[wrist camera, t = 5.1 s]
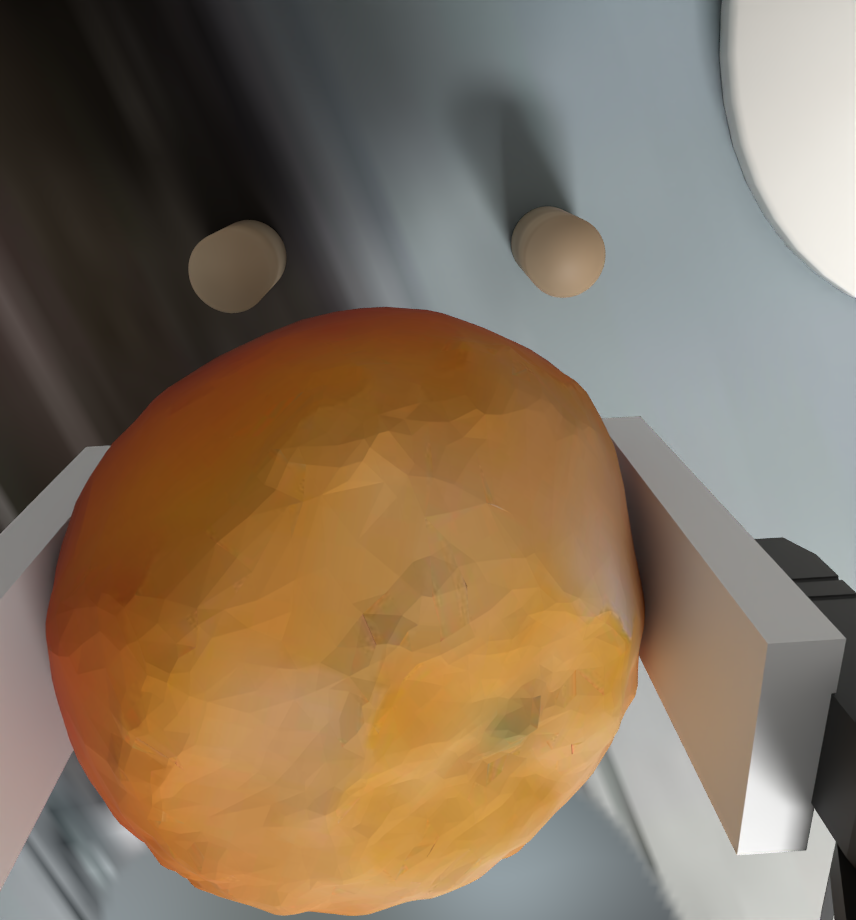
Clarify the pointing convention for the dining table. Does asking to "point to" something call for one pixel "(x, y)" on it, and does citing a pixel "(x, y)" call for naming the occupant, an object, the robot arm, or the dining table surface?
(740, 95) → the saucer
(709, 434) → the dining table surface
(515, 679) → the fruit
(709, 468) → the dining table surface
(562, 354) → the dining table surface
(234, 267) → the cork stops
